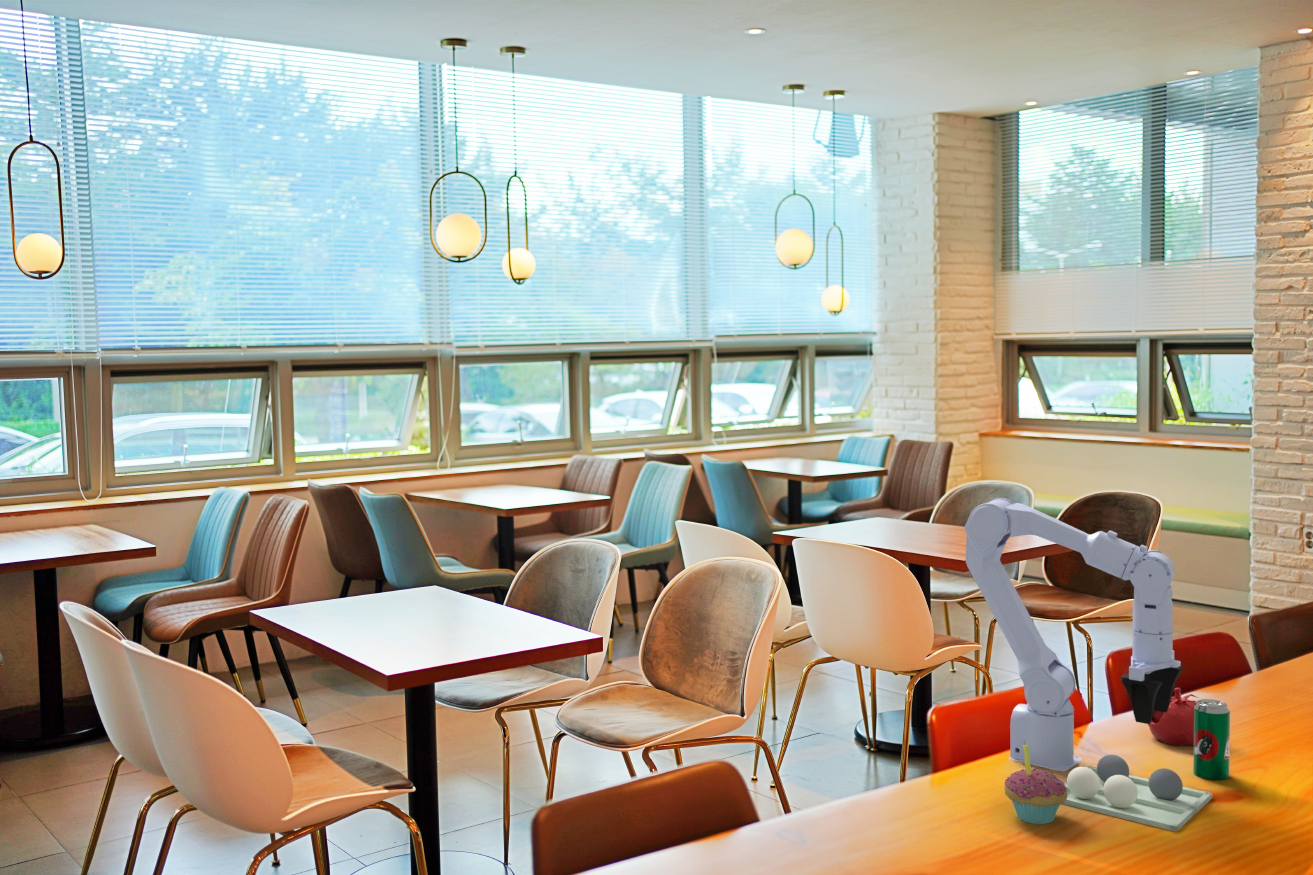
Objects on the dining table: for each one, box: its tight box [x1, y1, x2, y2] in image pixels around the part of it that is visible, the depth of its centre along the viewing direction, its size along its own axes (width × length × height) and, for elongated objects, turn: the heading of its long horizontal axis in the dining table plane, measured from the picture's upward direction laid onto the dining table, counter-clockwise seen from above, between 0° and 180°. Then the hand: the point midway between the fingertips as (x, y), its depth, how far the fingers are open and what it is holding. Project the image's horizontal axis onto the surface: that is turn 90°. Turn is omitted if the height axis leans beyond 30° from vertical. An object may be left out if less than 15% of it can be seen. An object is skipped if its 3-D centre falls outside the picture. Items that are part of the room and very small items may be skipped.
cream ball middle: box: [1103, 775, 1138, 808], centre depth 164 cm, size 5×5×5 cm
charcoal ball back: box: [1096, 754, 1130, 783], centre depth 172 cm, size 5×5×5 cm
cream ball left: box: [1066, 766, 1100, 799], centre depth 167 cm, size 5×5×5 cm
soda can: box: [1192, 698, 1231, 782], centre depth 176 cm, size 5×5×12 cm
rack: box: [1061, 766, 1213, 833], centre depth 167 cm, size 18×16×1 cm
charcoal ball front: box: [1148, 768, 1184, 801], centre depth 166 cm, size 5×5×5 cm
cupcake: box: [1004, 740, 1067, 825], centre depth 161 cm, size 9×8×12 cm
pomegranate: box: [1147, 687, 1200, 747], centre depth 194 cm, size 10×10×9 cm
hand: (1151, 716), depth 176 cm, fingers open, 7 cm apart
